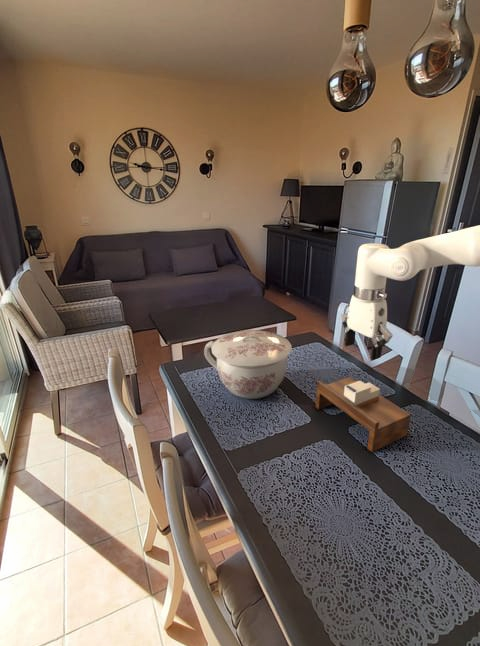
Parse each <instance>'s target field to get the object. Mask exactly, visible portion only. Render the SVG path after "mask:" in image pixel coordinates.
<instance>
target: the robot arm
mask: <svg viewBox="0 0 480 646" xmlns="http://www.w3.org/2000/svg"><path fill="white" fill-rule="evenodd" d="M449 265H464V266H468V267H473V268H474V267H477V268H478V267H480V224H479V225H475V226H470V227H465V228H462V229H459V230H455V231H450V232H447V233H442V234H438V235H432V236H429V237H426V238H422V239H416V240H413V241H410V242H406V243H405V244H402V245H401V246H399V247H395V248H390V247H389V246H388V245H387V244H383V243H375V242H373V243H371V242H370V243H369V242H368V243H364V244H361V245H360V246H359V247H358V250H357V258H356V267H355V275H354V276H355V277H354V278H355V279H354V286H353V294H352V296H351V299H350V302H349V306H348V312H346V313H343V314H341V315H340V318H341V321H342V323H341V324H342V326H343V328H344V329H343V331H344V333H345V336H344V337H345V338H344V346H345V347H349V346H353V345H355V342H356V333H358V334H360V335H362V336H365V337H367V338H370V339H371V341H372V344H373V345H372V346H371V350H370V360H371V361H375V360H378V359H380V358H381V357H382V352H383V346H385V345H387V344H388V343H389V342H390V341H391V339H392V338H393V336H394V335H393V333H392V332H391V331H390V330H389V328H387V323H388V305H387V304H388V303H387V300H386V298H387V296H388V294H387V293H386V285H387V279H391V280H395V281H402V282H404V281H408V280H411V279H412V278H413V277H415V276H416V275H417V274H418V273H419V272H420V271H422V270H427V269H432V268H436V267H437V268H438V267H443V266H449Z"/></svg>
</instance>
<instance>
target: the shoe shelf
mask: <svg viewBox="0 0 480 646" xmlns="http://www.w3.org/2000/svg"><path fill="white" fill-rule="evenodd" d="M357 381H358V380H356V379H355V378H353V377H352V376H347V377H345V378H341V379H339V380H336V381H333V382H330V383H328V384H326V383H324V382H323V381H321V380H318V381H317V382H316V392H315V394H316V396H315V408H316V409H317V410H321V409H324V408H326V407H329V406H332V405H335V407H337V408H339V409H340V410H341V411H342V412H344V413H345V414H347V415H348V416H349V417H351V418H352V419H353V420H355V421H356V422H357V423H358V424H360V425H362V427H364V428H365V429H367V430H368V431H369V433H368V441H367V449H366V450H368V451H369V452H371V453H374V452H375V451H377V450H379V449H382V448H384V447H386V446H387V445H390V444H392V443H394V442H396V441H398V440H400V439H402V438H405V437H406V436H408V434H409V433H408V432H409V427H410V422H411V416H412V414H411V413H410V412H408V411H406V410H405V409H403V408H401V407H400V406H398V405H396V404H395V403H394V402H391V401H390V400H389V399H387V398H385V397H384V396H382V395H381V394H379V399H378V400H375V401H373V402H370V403H368V404H365V405H363V406H360V407H357V406H356V405H354V404H353V403H351V402H350V401H349V400H347V399H346V398H344V389H345V386H346V385H349V384H352V383H354V382H357Z"/></svg>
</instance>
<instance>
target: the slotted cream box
mask: <svg viewBox="0 0 480 646" xmlns="http://www.w3.org/2000/svg"><path fill="white" fill-rule="evenodd" d="M356 381H357V382H354V383H352V384H349V385H346V386H345V389H344V398H346V399H347V400H349V401H350V402H351V403H353V404H354V405H356V406H357V407H360V406H363V405H365V404H368V403H370V402H373V401H375V400H378V399H379V395H381V394H380V393H381V388H379V387H378V386H376V385H374V384H372V383H371V382H366V383H365V382H363V381H361V380H356Z"/></svg>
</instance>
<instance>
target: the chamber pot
mask: <svg viewBox="0 0 480 646" xmlns="http://www.w3.org/2000/svg"><path fill="white" fill-rule="evenodd" d="M292 347H293V346H292V344H291V342H290V341H289V340H288V339H287V338H286V337H284V336H283V335H280V334H278V333H275V332H273V331H268V330H258V329H248V330H238V331H235V332H234V331H233V332H230V333H229V332H228V333H227V334H224V335H222V336H220V337H219V338H217V339H216V340H214V341H213V340H210V341H208V342H207V343H206V344H205V346H204V348H203V349H204V350H203V355H204V357H205V359H206V361H207V362H208V363H209V364H210V365H211V366H212V367H213V368H215V370H217V374H218V377H219V380H220V382H221V383H222V384H223V385H224V386H225V388H226V389H227V390H228V391H229V393H231V394H233V395H234V396H236V397H238V398H242V399H246V400H247V399H249V400H255V399H256V400H257V399H263V398H266V397H268V396H270V395H271V394H273V393H274V392H275V391H276V390H277V389H278V387H279V386H280V385H281V384H282V382H283V381H284V379H285V377H286V372H287V368H288V367H287V366H288V356H289V355H290V354H291V353H292V350H293V349H292ZM210 349H211V351H210ZM211 353H212V355H213V356H214V357H215V358H216V360H215V359H214V358H213V356H212V355H211Z"/></svg>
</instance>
